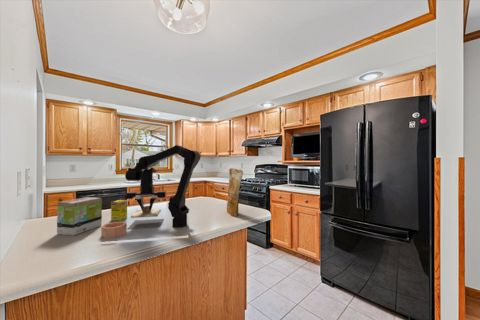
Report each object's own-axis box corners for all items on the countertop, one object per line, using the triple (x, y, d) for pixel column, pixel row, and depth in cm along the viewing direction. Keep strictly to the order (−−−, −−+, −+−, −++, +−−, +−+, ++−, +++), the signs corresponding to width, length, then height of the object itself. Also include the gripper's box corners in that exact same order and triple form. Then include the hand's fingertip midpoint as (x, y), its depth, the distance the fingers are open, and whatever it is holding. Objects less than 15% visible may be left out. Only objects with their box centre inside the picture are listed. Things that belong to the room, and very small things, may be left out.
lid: (160, 210, 117) (160, 203, 117) (157, 216, 106) (157, 208, 105) (137, 211, 115) (137, 204, 115) (130, 217, 103) (130, 210, 103)
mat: (164, 220, 119) (164, 218, 119) (160, 229, 104) (160, 227, 104) (135, 222, 116) (135, 220, 116) (126, 231, 101) (126, 229, 101)
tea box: (74, 236, 95) (74, 203, 95) (56, 234, 97) (56, 202, 97) (102, 225, 110) (102, 197, 110) (86, 224, 112) (86, 196, 112)
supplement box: (121, 222, 116) (121, 202, 116) (110, 222, 116) (110, 202, 116) (127, 219, 122) (127, 199, 122) (117, 219, 122) (117, 199, 122)
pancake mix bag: (233, 209, 145) (233, 168, 145) (243, 216, 127) (243, 169, 127) (224, 210, 143) (224, 168, 143) (233, 217, 125) (233, 169, 125)
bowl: (128, 232, 100) (128, 221, 100) (122, 239, 92) (122, 227, 92) (107, 233, 98) (107, 222, 98) (98, 240, 90) (98, 228, 90)
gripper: (167, 179, 120) (167, 207, 120) (131, 180, 116) (131, 208, 116) (165, 181, 109) (165, 212, 109) (125, 182, 105) (125, 214, 105)
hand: (146, 211), depth 110 cm, fingers closed on lid, 3 cm apart
